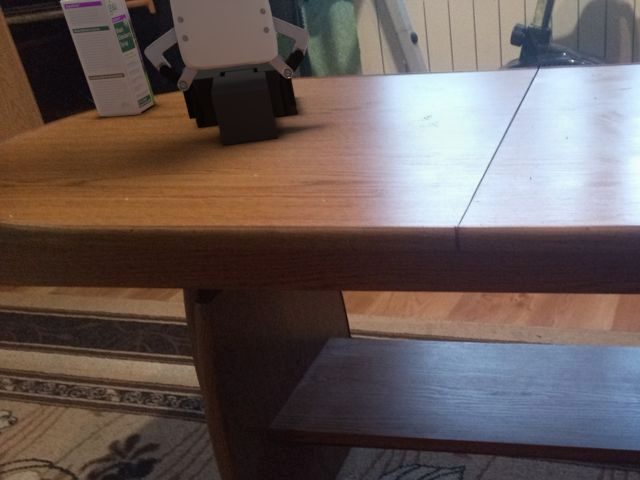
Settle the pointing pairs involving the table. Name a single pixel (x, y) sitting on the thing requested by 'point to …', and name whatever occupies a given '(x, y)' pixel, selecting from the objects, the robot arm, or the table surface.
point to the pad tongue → (243, 107)
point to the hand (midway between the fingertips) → (245, 118)
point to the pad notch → (206, 76)
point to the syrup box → (109, 55)
